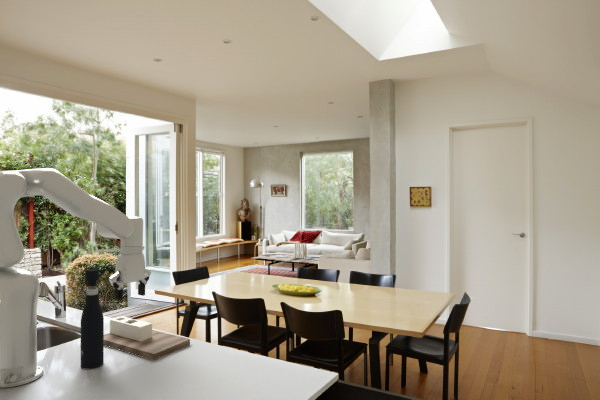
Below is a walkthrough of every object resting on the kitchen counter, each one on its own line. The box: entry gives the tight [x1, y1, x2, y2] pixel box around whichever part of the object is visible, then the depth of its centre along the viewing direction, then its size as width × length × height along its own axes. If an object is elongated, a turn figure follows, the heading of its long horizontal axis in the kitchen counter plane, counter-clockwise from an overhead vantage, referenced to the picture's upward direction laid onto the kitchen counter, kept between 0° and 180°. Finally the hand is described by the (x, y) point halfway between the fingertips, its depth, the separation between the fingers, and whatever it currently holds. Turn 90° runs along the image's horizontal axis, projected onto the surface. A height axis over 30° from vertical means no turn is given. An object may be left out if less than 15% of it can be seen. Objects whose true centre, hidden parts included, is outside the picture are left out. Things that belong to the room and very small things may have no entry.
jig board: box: [104, 318, 191, 361], centre depth 148 cm, size 30×16×8 cm, turn 61°
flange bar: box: [109, 315, 153, 341], centre depth 151 cm, size 17×5×5 cm, turn 61°
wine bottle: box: [80, 268, 105, 370], centre depth 129 cm, size 6×6×30 cm
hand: (130, 297), depth 150 cm, fingers open, 9 cm apart
